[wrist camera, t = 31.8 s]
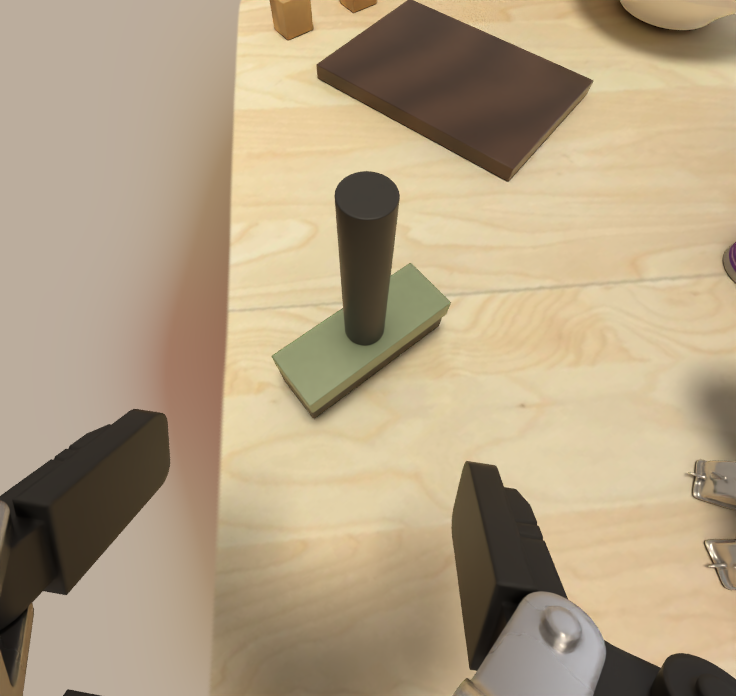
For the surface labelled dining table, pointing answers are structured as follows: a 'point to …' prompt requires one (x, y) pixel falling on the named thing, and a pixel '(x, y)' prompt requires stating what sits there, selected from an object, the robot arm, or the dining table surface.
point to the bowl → (679, 12)
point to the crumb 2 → (357, 4)
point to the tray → (456, 85)
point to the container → (730, 261)
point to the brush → (362, 301)
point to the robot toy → (727, 489)
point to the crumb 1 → (291, 17)
